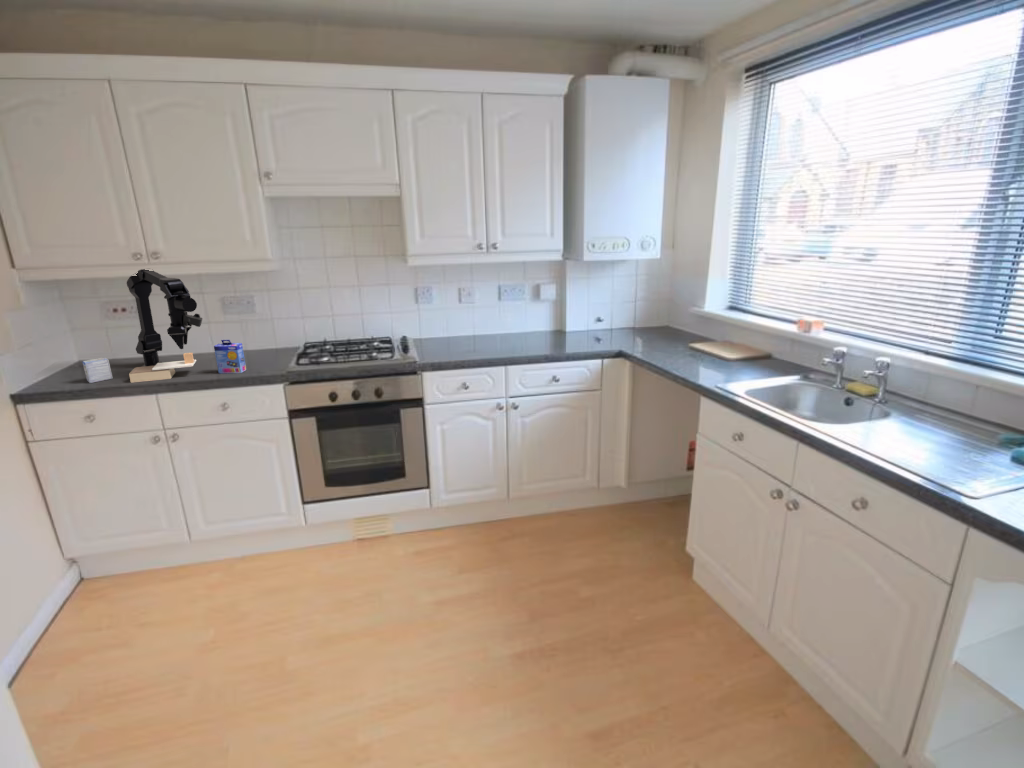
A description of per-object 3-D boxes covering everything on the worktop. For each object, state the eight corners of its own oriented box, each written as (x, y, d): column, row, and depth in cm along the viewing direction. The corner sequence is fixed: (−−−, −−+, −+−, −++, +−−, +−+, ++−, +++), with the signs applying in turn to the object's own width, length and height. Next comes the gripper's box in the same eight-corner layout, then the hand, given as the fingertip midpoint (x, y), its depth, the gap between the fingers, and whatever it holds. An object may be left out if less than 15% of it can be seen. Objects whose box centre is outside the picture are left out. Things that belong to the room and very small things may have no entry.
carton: (137, 376, 226) (135, 367, 225) (175, 372, 231) (173, 363, 230) (130, 382, 218) (128, 373, 216) (170, 378, 222) (168, 369, 221)
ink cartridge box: (217, 374, 229) (211, 340, 224) (223, 370, 234) (218, 337, 230) (241, 373, 229) (235, 340, 225) (247, 369, 234) (241, 337, 230)
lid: (157, 364, 228) (155, 353, 227) (196, 360, 233) (194, 350, 232) (152, 370, 219) (150, 359, 218) (192, 366, 224) (190, 355, 223)
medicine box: (109, 377, 226) (104, 357, 224) (113, 379, 223) (108, 358, 221) (87, 381, 220) (81, 361, 218) (90, 383, 218) (84, 362, 215)
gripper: (195, 312, 217) (202, 349, 222) (202, 305, 233) (208, 340, 238) (163, 314, 213) (171, 352, 218) (172, 307, 230) (179, 342, 234)
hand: (183, 346), depth 227 cm, fingers open, 9 cm apart
